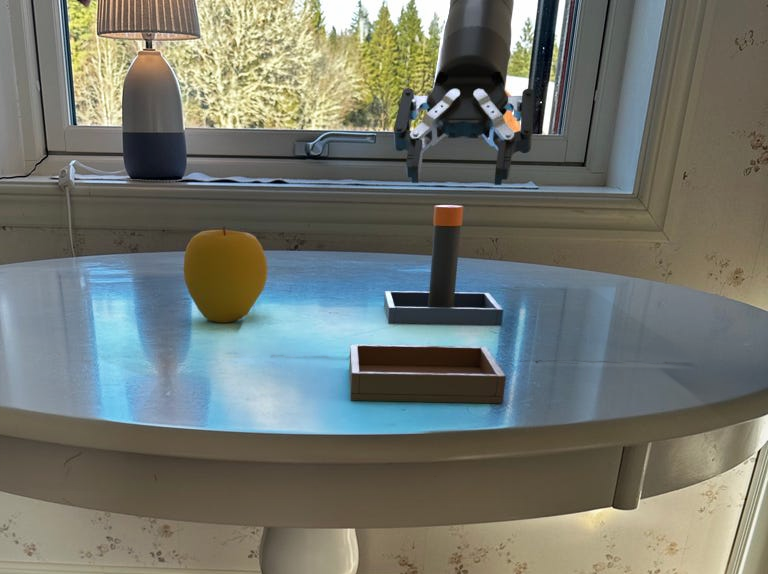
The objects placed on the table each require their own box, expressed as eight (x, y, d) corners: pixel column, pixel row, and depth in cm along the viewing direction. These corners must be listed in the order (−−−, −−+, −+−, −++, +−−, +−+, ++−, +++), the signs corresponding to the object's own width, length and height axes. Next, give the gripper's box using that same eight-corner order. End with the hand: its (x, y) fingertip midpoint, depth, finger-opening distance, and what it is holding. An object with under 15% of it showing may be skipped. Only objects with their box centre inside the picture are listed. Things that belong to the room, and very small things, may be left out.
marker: (452, 312, 100) (461, 205, 95) (455, 317, 98) (464, 207, 93) (425, 312, 100) (433, 204, 95) (427, 317, 98) (435, 207, 93)
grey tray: (487, 312, 103) (489, 292, 102) (501, 330, 94) (503, 309, 93) (383, 310, 104) (384, 291, 103) (387, 328, 95) (389, 307, 94)
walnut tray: (484, 371, 79) (487, 346, 78) (503, 403, 70) (506, 376, 69) (349, 368, 79) (350, 344, 78) (350, 400, 70) (351, 373, 70)
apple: (285, 321, 98) (285, 227, 93) (217, 331, 93) (214, 233, 89) (235, 309, 103) (234, 220, 99) (169, 318, 99) (164, 225, 94)
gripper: (406, 24, 100) (385, 149, 96) (545, 22, 98) (530, 151, 93) (408, 84, 108) (389, 202, 103) (538, 84, 105) (524, 206, 100)
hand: (456, 178), depth 98 cm, fingers open, 8 cm apart
